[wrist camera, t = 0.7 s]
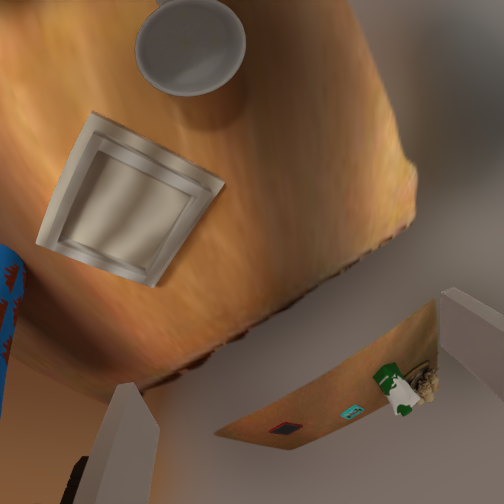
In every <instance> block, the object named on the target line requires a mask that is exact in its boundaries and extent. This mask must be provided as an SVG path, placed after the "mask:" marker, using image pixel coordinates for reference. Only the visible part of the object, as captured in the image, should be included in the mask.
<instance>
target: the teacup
mask: <svg viewBox="0 0 504 504" xmlns="http://www.w3.org/2000/svg"><path fill="white" fill-rule="evenodd" d="M156 2H157V4H158V6H159V8H158V9H157V10H155V11H154V12H153V13H152V14H151V15H150V16H149V17H148V18H147V19H146V20H145V22H144V23H143V24H142V26H141V28H140V30H139V32H138V34H137V38H136V43H135V56H136V62H137V65H138V68H139V70H140V72H141V74H142V75H143V77H144V78H145V79H146V80H147V81H148V82H149V83H150V84H151V85H152V86H153V87H155V88H156V89H158V90H160V91H162V92H164V93H167V94H170V95H174V96H181V97H191V96H198V95H203V94H206V93H209V92H212V91H214V90H216V89H218V88H219V87H221V86H223V85H224V84H225V83H227V82H228V81H229V80H230V79H231V78H232V77H233V76H234V74H235V73H236V72H237V70H238V69H239V67H240V65H241V63H242V61H243V58H244V55H245V50H246V34H245V31H244V28H243V25H242V23H241V21H240V19H238V17H237V16H236V14H235V13H234V12H233V11H232V10H231V9H230V8H229V7H227V6H226V5H225V4H223V3H221V2H218V1H217V0H156Z"/></svg>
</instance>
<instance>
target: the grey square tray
mask: <svg viewBox="0 0 504 504" xmlns="http://www.w3.org/2000/svg"><path fill="white" fill-rule="evenodd" d="M224 184H225V182H224V181H223V179H222V178H220V177H218V176H216V175H215V174H213V173H211V172H209V171H207V170H206V169H204V168H202V167H200V166H198V165H197V164H195V163H193V162H191V161H189V160H187V159H186V158H184V157H182V156H180V155H178V154H176V153H174V152H173V151H171V150H169V149H167V148H165V147H163V146H161V145H159V144H157V143H156V142H154V141H152V140H150V139H148V138H146V137H144V136H142V135H140V134H138V133H136V132H134V131H132V130H130V129H128V128H126V127H125V126H123V125H121V124H119V123H117V122H115V121H113V120H111V119H109V118H107V117H105V116H103V115H101V114H99V113H97V112H94V111H92V112H91V113H90V115H89V117H88V118H87V120H86V122H85V124H84V126H83V128H82V130H81V132H80V134H79V136H78V138H77V140H76V142H75V144H74V146H73V149H72V151H71V153H70V155H69V157H68V159H67V162H66V164H65V166H64V168H63V171H62V173H61V175H60V178H59V180H58V183H57V185H56V187H55V190H54V192H53V195H52V198H51V200H50V203H49V206H48V208H47V211H46V214H45V217H44V219H43V222H42V225H41V228H40V231H39V234H38V237H37V240H36V244H38V245H40V246H43V247H45V248H47V249H50V250H52V251H55V252H57V253H60V254H62V255H65V256H67V257H70V258H72V259H75V260H78V261H80V262H83V263H85V264H88V265H91V266H93V267H96V268H99V269H101V270H104V271H107V272H110V273H112V274H115V275H118V276H121V277H123V278H126V279H129V280H132V281H135V282H138V283H140V284H143V285H146V286H149V287H152V288H154V287H155V286H156V284H157V283H158V281H159V280H160V278H161V276H162V275H163V273H164V272H165V270H166V269H167V267H168V266H169V264H170V263H171V261H172V260H173V258H174V257H175V255H176V254H177V252H178V250H179V249H180V247H181V246H182V244H183V243H184V241H185V240H186V239H187V237H188V236H189V234H190V233H191V231H192V230H193V228H194V227H195V225H196V224H197V222H198V221H199V219H200V218H201V216H202V215H203V214H204V212H205V211H206V209H207V208H208V206H209V205H210V204H211V202H212V201H213V199H214V198H215V196H216V195H217V194H218V192H219V191H220V189H221V188H222V187H223V185H224Z"/></svg>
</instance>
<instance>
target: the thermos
mask: <svg viewBox="0 0 504 504" xmlns="http://www.w3.org/2000/svg"><path fill="white" fill-rule="evenodd" d="M26 281H27V273H26V268H25V266H24V264H23V262H22V260H21V259H20V258H19V256H18V255H17V254H16V253H15V252H14V251H12V250H11V249H9V248H8V247H6V246H4V245H1V244H0V417H1V409H2V401H3V392H4V385H5V377H6V371H7V365H8V360H9V354H10V349H11V344H12V339H13V335H14V330H15V326H16V321H17V317H18V313H19V309H20V306H21V302H22V298H23V294H24V290H25V285H26Z"/></svg>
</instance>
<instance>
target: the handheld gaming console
mask: <svg viewBox="0 0 504 504" xmlns="http://www.w3.org/2000/svg"><path fill="white" fill-rule="evenodd" d="M358 409H359V410H361V411H359V412H358V413H356V414H354V412H356V411H357V410H358ZM363 410H364V409H363V408H361V407H359V406H358V405H354V406H353V407H351V408H349V409H348V410H346V411H345V412H343V413H342V414H341V416H342V417H344V418H347V419H351V418H353V417H354V416H356V415H357V414H359V413H360V412H362V411H363ZM352 413H353V414H354V415H353V416H351V417H348V416H349V415H351V414H352Z"/></svg>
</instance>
